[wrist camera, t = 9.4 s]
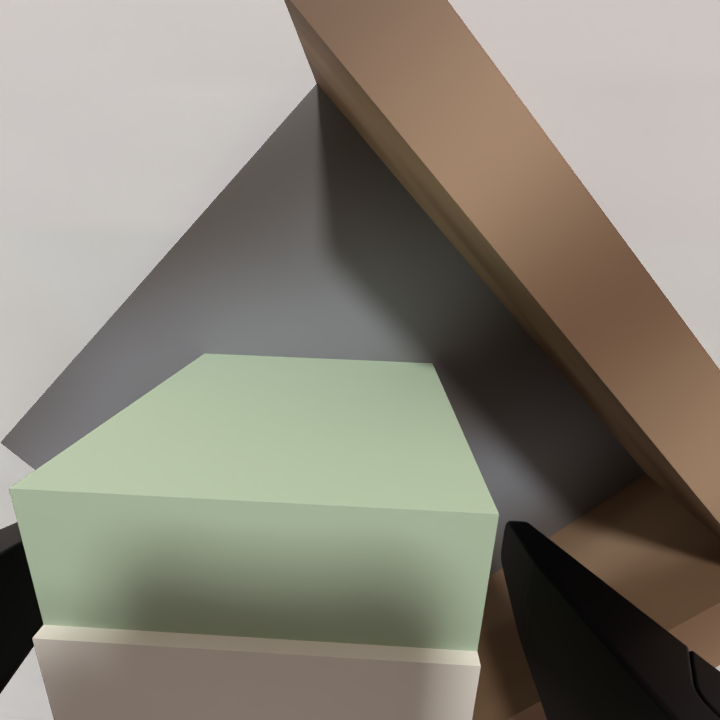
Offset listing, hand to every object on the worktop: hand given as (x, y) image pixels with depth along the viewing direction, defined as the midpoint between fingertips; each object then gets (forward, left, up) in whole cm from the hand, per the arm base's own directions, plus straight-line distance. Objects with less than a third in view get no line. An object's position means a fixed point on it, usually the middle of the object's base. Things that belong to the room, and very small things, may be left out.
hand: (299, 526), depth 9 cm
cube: (0, 0, -3) cm, 3 cm away
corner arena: (-1, -1, -3) cm, 3 cm away
